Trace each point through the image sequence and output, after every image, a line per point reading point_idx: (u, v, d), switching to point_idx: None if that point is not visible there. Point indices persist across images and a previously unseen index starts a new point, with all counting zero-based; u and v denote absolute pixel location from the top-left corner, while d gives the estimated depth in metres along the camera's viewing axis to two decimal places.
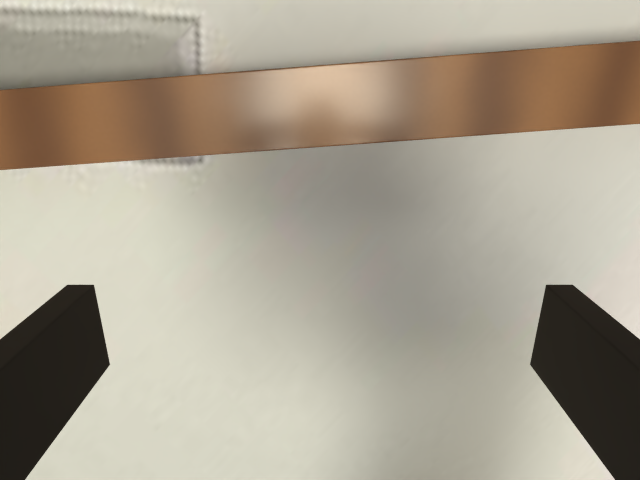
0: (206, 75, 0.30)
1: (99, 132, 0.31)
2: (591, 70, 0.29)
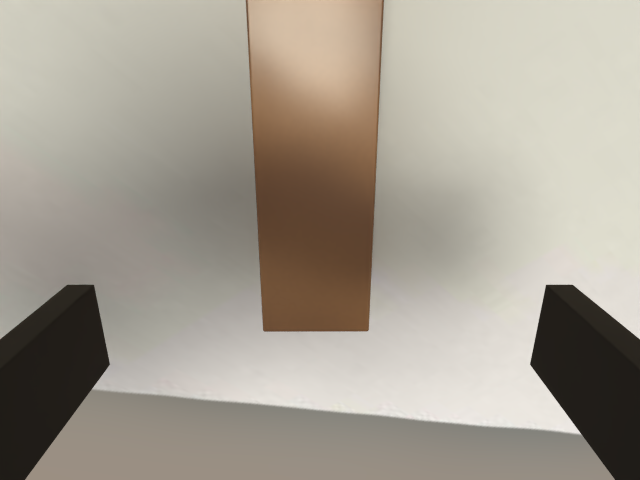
0: None
1: None
2: None
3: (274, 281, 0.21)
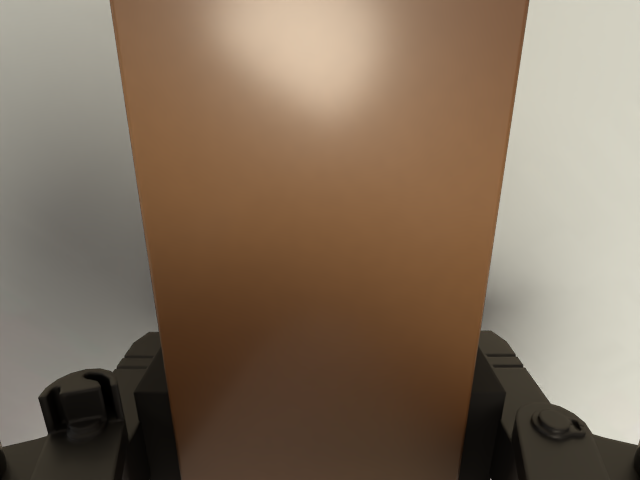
0: None
1: None
2: None
3: None
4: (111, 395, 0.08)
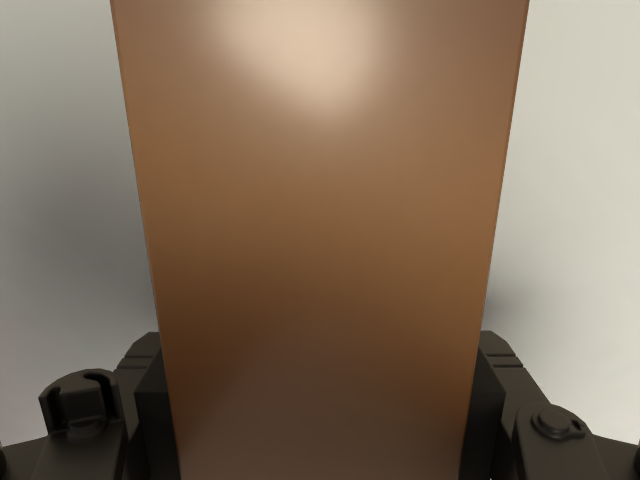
0: None
1: None
2: None
3: None
4: (111, 395, 0.08)
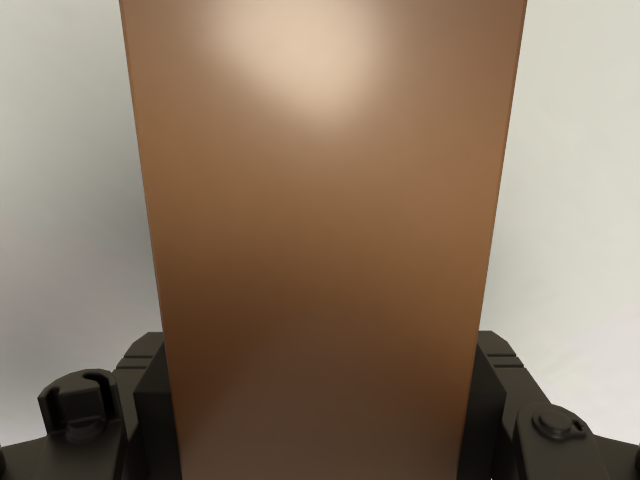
0: None
1: None
2: None
3: None
4: (110, 395, 0.08)
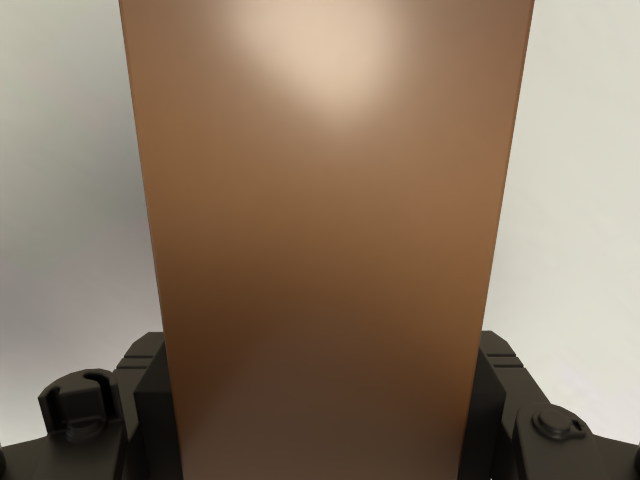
0: None
1: None
2: None
3: None
4: (111, 395, 0.08)
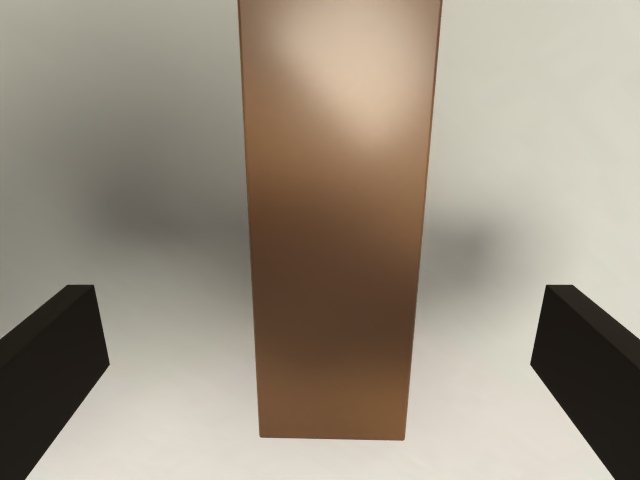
0: None
1: None
2: None
3: (275, 373, 0.15)
4: None
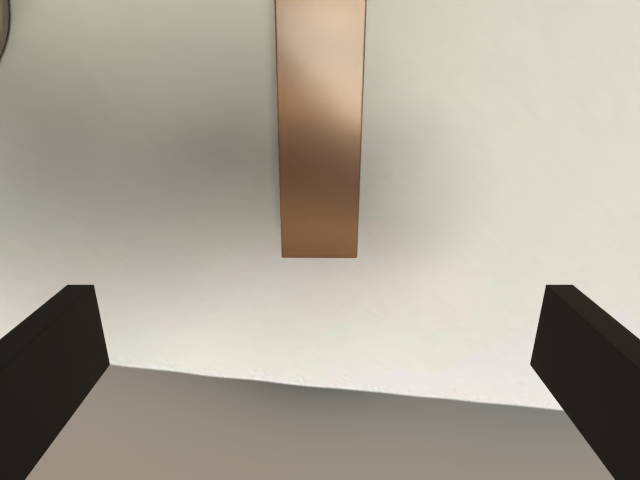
0: None
1: None
2: (338, 13, 0.26)
3: (290, 219, 0.30)
4: None
